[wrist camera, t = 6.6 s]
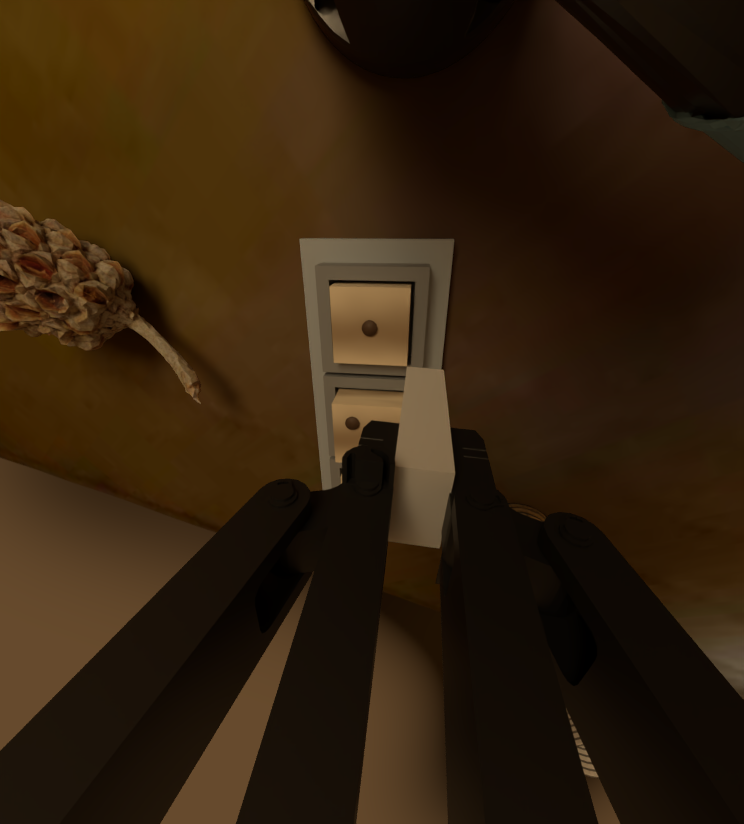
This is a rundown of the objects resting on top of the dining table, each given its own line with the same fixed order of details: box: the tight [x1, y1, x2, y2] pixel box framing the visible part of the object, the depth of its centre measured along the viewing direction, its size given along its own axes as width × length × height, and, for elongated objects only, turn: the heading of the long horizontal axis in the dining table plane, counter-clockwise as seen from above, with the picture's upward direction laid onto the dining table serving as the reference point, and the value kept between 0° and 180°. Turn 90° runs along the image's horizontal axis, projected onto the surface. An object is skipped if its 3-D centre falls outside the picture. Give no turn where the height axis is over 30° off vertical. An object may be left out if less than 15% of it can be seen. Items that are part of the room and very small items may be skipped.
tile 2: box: [332, 389, 404, 463], centre depth 31 cm, size 6×6×3 cm
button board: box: [300, 238, 454, 490], centre depth 34 cm, size 30×12×3 cm, turn 0°
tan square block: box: [329, 280, 412, 366], centre depth 28 cm, size 6×6×3 cm
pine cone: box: [0, 200, 201, 404], centre depth 29 cm, size 22×10×10 cm, turn 55°
